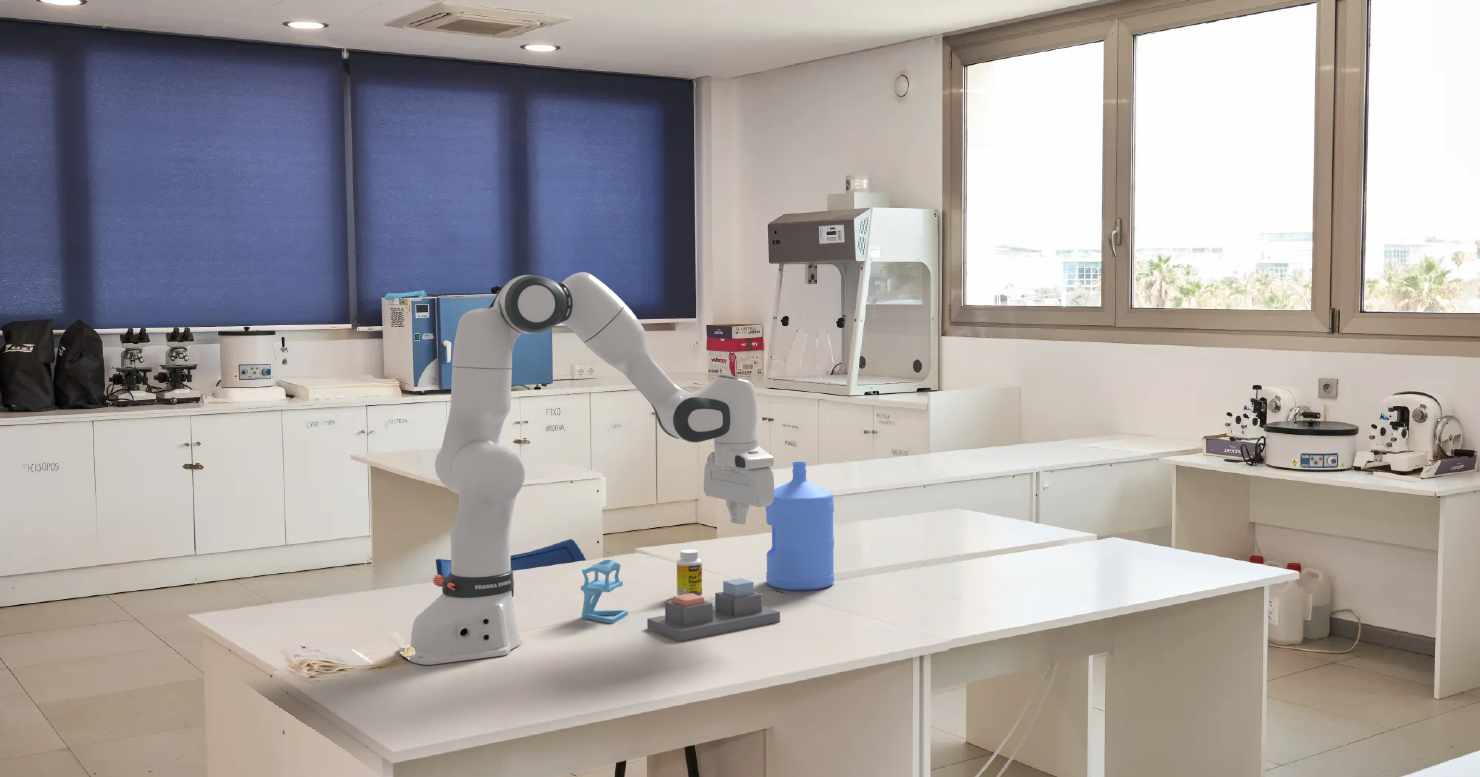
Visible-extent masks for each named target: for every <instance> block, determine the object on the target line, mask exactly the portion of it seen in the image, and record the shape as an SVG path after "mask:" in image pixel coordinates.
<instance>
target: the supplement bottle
mask: <svg viewBox="0 0 1480 777" xmlns="http://www.w3.org/2000/svg"><path fill="white" fill-rule="evenodd" d="M679 552H680V554H679V559H678V560H676V596H679V595H685V594H690V593H693V594H696V595H699V596H703V595H702V594H703V562H702V560H701V558H699V550H697V549H693V548H692V549H691V548H690V549H689V548H687V549H682V550H680V551H679Z"/></svg>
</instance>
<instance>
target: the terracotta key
mask: <svg viewBox="0 0 1480 777" xmlns="http://www.w3.org/2000/svg"><path fill="white" fill-rule="evenodd" d="M704 600H705V597H704V596H703V595H701V596H699V595H696V594H693V593H690V594H685V595H679V596H677V595H674V596H673V603H675V604H678V605H680V606H683V607H688V606H694V605H699V604H704Z"/></svg>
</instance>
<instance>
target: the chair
mask: <svg viewBox="0 0 1480 777" xmlns="http://www.w3.org/2000/svg"><path fill="white" fill-rule="evenodd" d="M620 570H621V564H620V563H619V562H618V561H615V560H612V559H605V560H602V561H599V562H598V563H593V564H592V565H591V566H590V567H589V566H588V567H587V568H584V569H581V572H582V574H583V578H584V584H583V585H581V586H580V591H582V592H583V595H584V596H583V604H582V605H583V606H582V612H581V619H586V620H591V621H596V622H599V623H600V622H601V623H607V624H615V623H616V622H618V621H620V620H621V619H623V618H625V617H626V616H628V614H629V611H628V609H627V610H626V609H596V606H597V604H598V601H599V600H600V597H601V596H602V594H603V593H611V592H613V591H614V590H615V589H617V588H620V587H622V586H624V584H623V581H622V580H620V577H619V573H620ZM614 571H615V573H614V580H610V578H609V577H610V574H612V572H614ZM591 572H594V579H593V580H591V581H589V580H590V579H589V577H588V575H587V574H589V573H591ZM599 573H601V574H603V575H605V578H604V580H603V579H600V576H599ZM606 616H607V617H606ZM608 616H613V617H608Z"/></svg>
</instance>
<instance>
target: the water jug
mask: <svg viewBox="0 0 1480 777" xmlns="http://www.w3.org/2000/svg"><path fill="white" fill-rule="evenodd" d="M791 464H792V478H791V481H789V482H786V483H784V484H783V485H781V486H778V487H776V488H774V500H773V502H772V504H771V505H770V506H765V513H766V516H765V518H766V520H765V521H766V522H765V523H766V524H767V525H769V526H771V548H770V549H769V550H768V551H767V552H766V573H765V574H766V576H765V578H766V580H765V581H766V582H767V584H768V586H770V587H772V588H774V589H775V588H776V589H779V590H783V591H784V590H786V591H800V592H801V591H803V592H805V591H815V590H816V591H817V590H820V589H826V588H828V587H830V586H832V585H833V583H835V571H834V565H835V564H834V560H835V559H834V557H835V555H834V548H835V536H834V511H835V504H834V503H835V502H834V495H833V493H832V492H831V491H829V490H828V489H825V488H824V487H821V486H819V485H817V484H815V483H813V482H811V481H809V480H808V478H807V468H806V465H807V462H806V461H794V462H792V463H791Z"/></svg>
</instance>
